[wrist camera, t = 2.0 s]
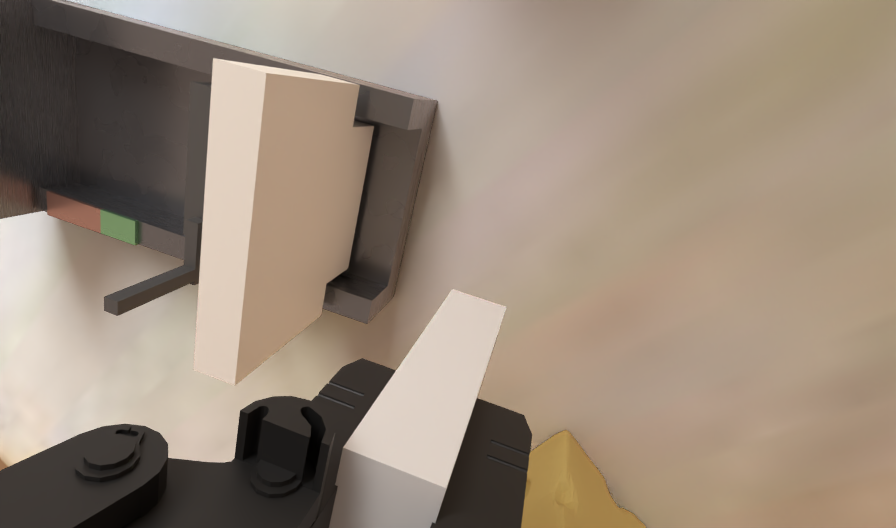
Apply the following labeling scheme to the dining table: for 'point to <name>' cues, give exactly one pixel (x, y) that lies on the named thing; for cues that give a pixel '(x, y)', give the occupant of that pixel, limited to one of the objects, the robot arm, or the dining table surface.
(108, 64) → the gauge track
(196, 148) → the indicator
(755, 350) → the dining table surface
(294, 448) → the robot arm
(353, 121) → the cream stepped block
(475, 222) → the dining table surface
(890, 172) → the dining table surface
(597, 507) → the cheese
